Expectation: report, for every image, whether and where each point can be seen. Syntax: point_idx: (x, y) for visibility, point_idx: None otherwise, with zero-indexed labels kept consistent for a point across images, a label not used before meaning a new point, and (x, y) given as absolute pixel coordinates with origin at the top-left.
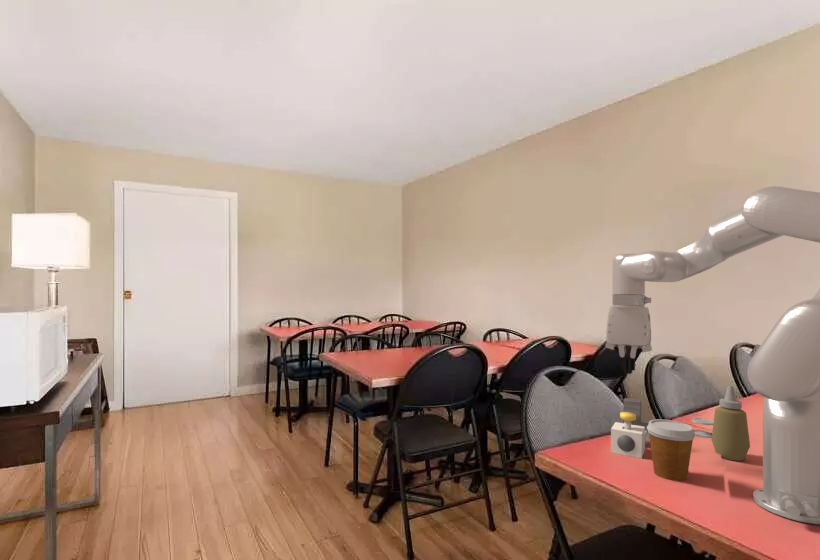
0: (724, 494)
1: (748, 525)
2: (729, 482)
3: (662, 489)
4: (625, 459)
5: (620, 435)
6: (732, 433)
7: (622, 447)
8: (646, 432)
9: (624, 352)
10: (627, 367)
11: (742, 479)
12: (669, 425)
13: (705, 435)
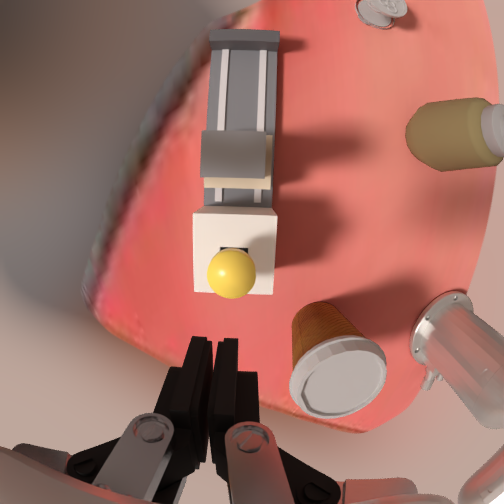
0: (381, 337)
1: (377, 398)
2: (401, 284)
3: None
4: None
5: None
6: (459, 169)
7: None
8: (266, 59)
9: (179, 491)
10: (209, 391)
11: (422, 257)
12: (341, 380)
13: (380, 20)
